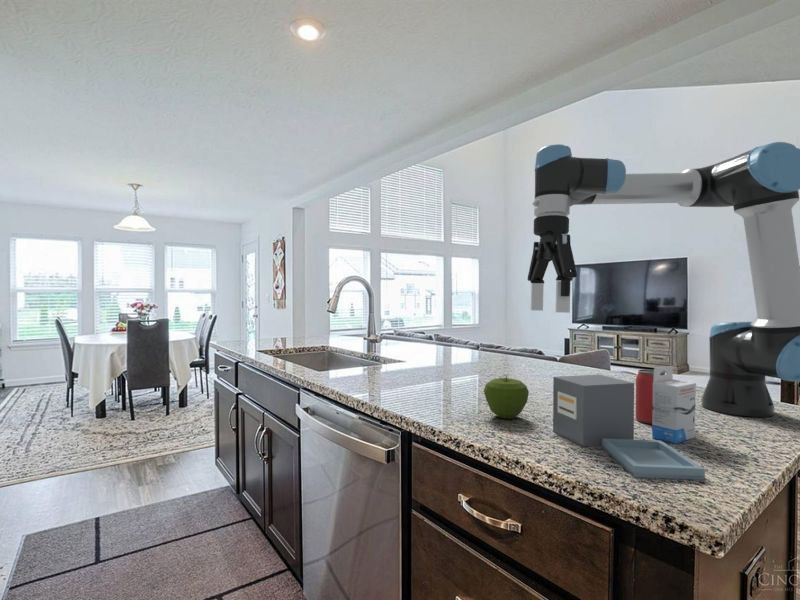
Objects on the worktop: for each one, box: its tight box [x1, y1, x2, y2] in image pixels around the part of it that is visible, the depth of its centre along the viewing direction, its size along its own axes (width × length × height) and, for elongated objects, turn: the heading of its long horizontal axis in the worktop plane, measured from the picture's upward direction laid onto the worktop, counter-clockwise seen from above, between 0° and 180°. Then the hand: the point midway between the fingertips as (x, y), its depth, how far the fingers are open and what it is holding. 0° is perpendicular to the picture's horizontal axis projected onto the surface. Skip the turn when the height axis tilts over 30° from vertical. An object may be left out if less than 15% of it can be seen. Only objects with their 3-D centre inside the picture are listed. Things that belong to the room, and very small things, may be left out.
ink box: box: [651, 365, 697, 445], centre depth 91 cm, size 8×5×15 cm, turn 123°
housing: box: [552, 374, 635, 447], centre depth 92 cm, size 13×10×12 cm
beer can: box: [635, 368, 666, 425], centre depth 103 cm, size 7×7×12 cm
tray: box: [601, 438, 706, 481], centre depth 77 cm, size 11×14×2 cm
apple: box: [483, 376, 530, 420], centre depth 106 cm, size 11×10×10 cm
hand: (548, 311), depth 97 cm, fingers open, 13 cm apart
